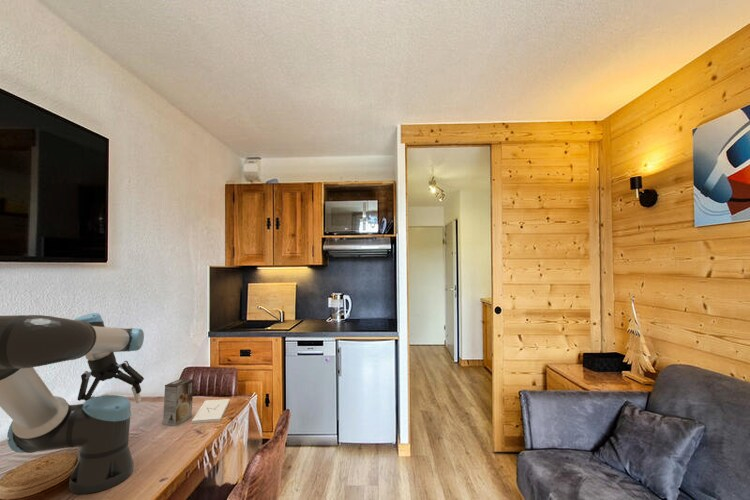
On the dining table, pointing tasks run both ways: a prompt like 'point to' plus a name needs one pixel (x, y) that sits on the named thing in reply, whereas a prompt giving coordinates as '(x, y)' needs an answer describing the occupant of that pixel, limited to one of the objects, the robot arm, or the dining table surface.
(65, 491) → the dining table surface
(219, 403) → the marked board
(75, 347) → the robot arm
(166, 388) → the coffee box
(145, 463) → the dining table surface
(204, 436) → the dining table surface
